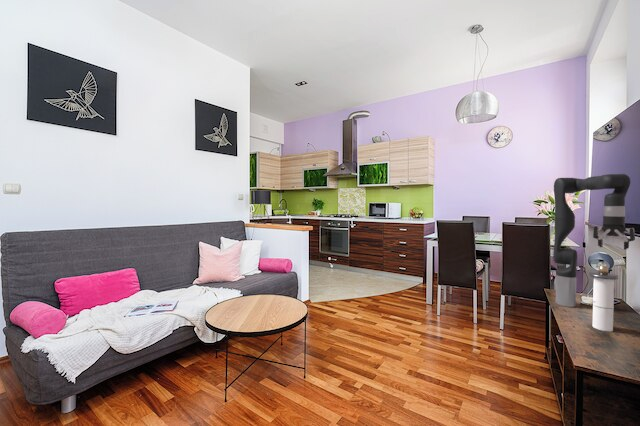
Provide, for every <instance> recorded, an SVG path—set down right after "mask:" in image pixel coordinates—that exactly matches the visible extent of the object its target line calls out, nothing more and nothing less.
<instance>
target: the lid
mask: <svg viewBox="0 0 640 426" xmlns="http://www.w3.org/2000/svg"><path fill="white" fill-rule="evenodd" d="M588 274H589V277H592V278H594V277H595V278H601V279H610V280H614V281H615V280H618V279H619V275H618V274H614V273H609V266H608V265H598V271H590V272H589V273H588Z"/></svg>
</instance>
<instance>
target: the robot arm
mask: <svg viewBox="0 0 640 426" xmlns="http://www.w3.org/2000/svg"><path fill="white" fill-rule="evenodd" d="M630 186H631V177H630V176H629V175H628V174H625V173H614V174H612V173H610V174H602V175H596V176H589V177H586V178H577V177H558V178H555V180H554V182H553V195H554V196H553V197H554V243H553V244H554V245H553V254H552V255H553V262H554V263H555V264H559V265H567V267H564V268H559V269H556V272H555V304H557V305H558V306H562V307H568V308H574V307H576V306H577V266H578V251H577V250H576V249H574V248H573V249H571V248H561V247H562V244H563V243H564V241H565V239H566V238H567V237H568V236H569V235H570V234H571V232H573V230H574V228H576V227H575V225H576V216H575V213H574V211H573V209H572V208H571V207H570V206H569V204H568V202H567V199H566V194H573V193H574V194H575V193H579V192H582V191H595V190H596V191H598V190H612V189H613V191H612V192H611V193H608V194H605V195H604V198H603V199H604V203H603V211H602V226H598V225H596V226H594V227H593V233H592V238H593V239H597V246H598V247H599V248H603V244H604V240H603V239H604V238H605V237H606V236H608V237H611V236H612V237H620V238H621V239H622V240H623V250H626V251H627V250H628V249H629V248H630V242H633V241H636V235H635V233H636V231H635V228H634V227H630V228H627V227H626V208H625V207H626V206H625V204H626V201H625V200H626V199H625V198H626V195H627V193H628V191H629V188H630ZM599 231H602V234H600V236H598V235H599ZM626 231H627V233H629V237H627V235H625V232H626ZM568 265H569V266H568Z"/></svg>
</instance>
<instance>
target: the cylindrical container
mask: <svg viewBox="0 0 640 426" xmlns="http://www.w3.org/2000/svg"><path fill="white" fill-rule="evenodd" d="M592 288H593V290H592V291H593V292H592V293H593V295H592V296H593V297H592V324H591V325H592V327H593V328H594V329H596V330H599V331H602V332H613V331H614V307H615V306H614V305H615V304H614V303H615V301H614V300H615V299H614V298H615V280H610V279H601V278H595V277H593V286H592Z"/></svg>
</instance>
